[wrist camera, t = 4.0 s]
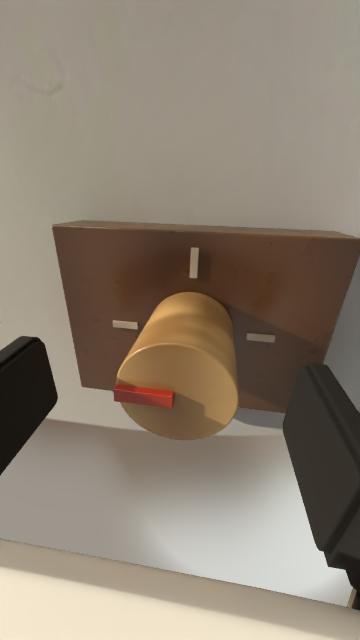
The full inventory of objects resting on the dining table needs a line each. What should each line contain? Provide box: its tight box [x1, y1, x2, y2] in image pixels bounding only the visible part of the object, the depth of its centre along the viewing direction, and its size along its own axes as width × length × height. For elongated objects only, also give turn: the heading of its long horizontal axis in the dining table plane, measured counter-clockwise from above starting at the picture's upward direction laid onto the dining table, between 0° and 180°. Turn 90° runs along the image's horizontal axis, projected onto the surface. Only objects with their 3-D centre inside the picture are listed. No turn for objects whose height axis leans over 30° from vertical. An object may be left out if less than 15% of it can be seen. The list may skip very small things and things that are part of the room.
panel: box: [52, 220, 360, 413], centre depth 14 cm, size 14×10×3 cm
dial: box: [113, 292, 239, 440], centre depth 11 cm, size 4×4×5 cm
